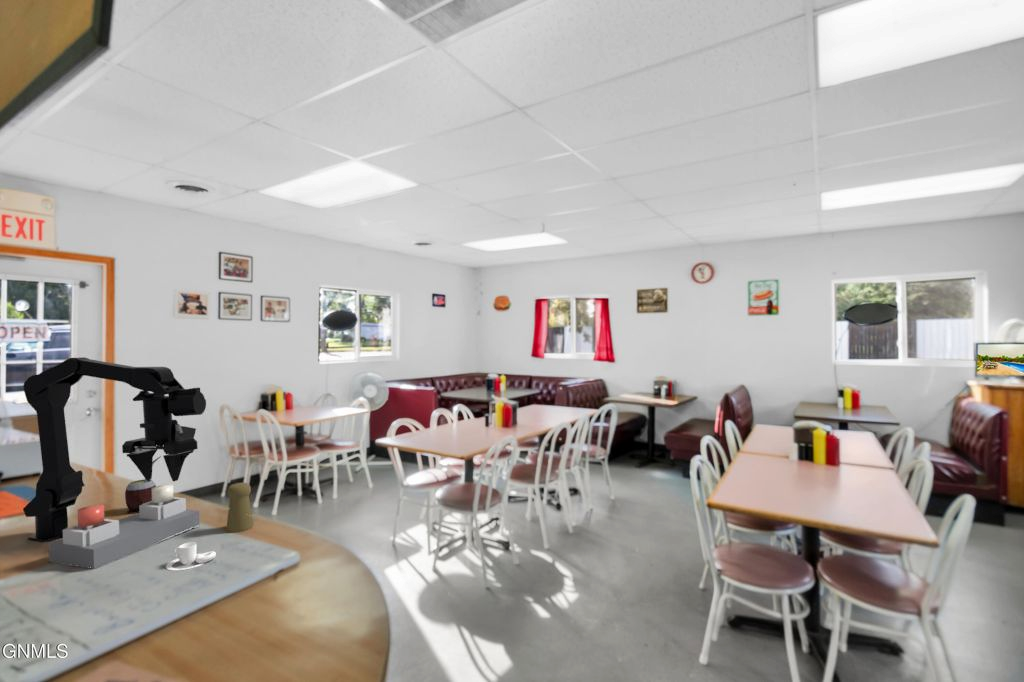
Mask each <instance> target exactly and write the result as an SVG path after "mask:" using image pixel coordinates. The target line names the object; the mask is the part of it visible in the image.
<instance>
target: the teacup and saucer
mask: <svg viewBox="0 0 1024 682" xmlns="http://www.w3.org/2000/svg"><path fill="white" fill-rule="evenodd" d="M177 550H179V551H177ZM178 552H179V554H178ZM174 555H175V558H176V559H173V560H171V561H169V562H168V563H167V564H166V565H165V569H167V571H173V572H179V571H186V570H191V569H195V568H198V567H200V566H202V565H205V564H207V563H208V562H209V561H211V560H213V559H215V558H216V556H217V553H216V552H215V551H213V550H212V551H211V550H210V551H206V552H204V553H197V542H196V541H190V542H185V543H183V544H180V545H179V546H177V547H176V548H174ZM179 561H180V562H181V564H182V565H183V566H185V565H191V564H193V563H194V562H196V563H197V564H195V565H192V566H189V567H183V568H182V567H181V568H176V567H173V565H174V564H175V563H176V562H179Z"/></svg>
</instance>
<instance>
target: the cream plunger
mask: <svg viewBox="0 0 1024 682" xmlns="http://www.w3.org/2000/svg"><path fill="white" fill-rule="evenodd" d="M174 497H175V496H174V484H162V485H156V487H153V488H152V502H153V503H160V502H166V501H170V500H172V499H173V498H174Z"/></svg>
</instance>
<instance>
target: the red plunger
mask: <svg viewBox="0 0 1024 682" xmlns="http://www.w3.org/2000/svg"><path fill="white" fill-rule="evenodd" d="M104 519H105V505H104V504H95V505H89V506H88V505H87V506H84V507H82V508H78V509H77V524H78V526H80V527H84V526H91V525H96V524H99V523H102V522H103V521H104Z"/></svg>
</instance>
